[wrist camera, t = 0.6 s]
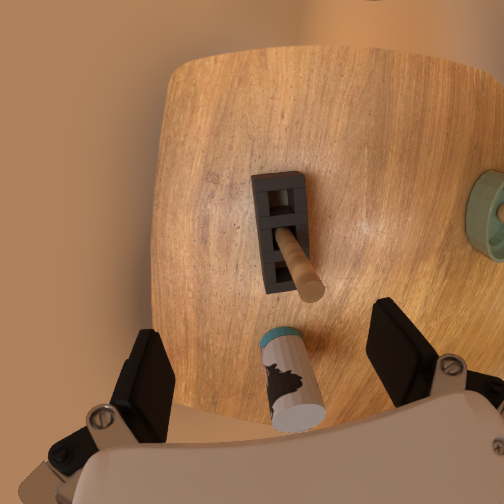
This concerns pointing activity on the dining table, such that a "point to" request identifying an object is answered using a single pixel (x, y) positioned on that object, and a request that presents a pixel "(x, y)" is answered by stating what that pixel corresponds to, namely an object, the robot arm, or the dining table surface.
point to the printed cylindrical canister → (290, 382)
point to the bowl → (486, 216)
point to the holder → (279, 224)
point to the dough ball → (500, 213)
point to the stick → (299, 266)
